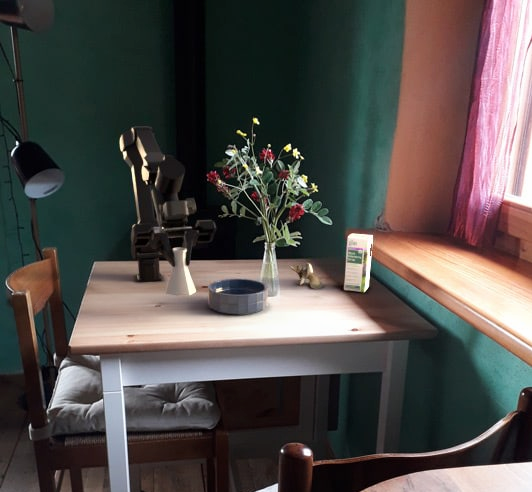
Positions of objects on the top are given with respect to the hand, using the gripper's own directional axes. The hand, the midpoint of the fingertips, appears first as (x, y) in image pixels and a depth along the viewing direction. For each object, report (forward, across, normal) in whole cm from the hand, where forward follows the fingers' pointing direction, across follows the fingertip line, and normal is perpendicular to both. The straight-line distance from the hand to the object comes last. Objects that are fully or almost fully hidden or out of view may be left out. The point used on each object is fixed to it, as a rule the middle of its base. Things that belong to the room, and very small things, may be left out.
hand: (181, 265), depth 137 cm
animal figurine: (-2, +39, +20) cm, 44 cm away
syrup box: (+4, +50, +14) cm, 52 cm away
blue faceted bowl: (+6, +15, +11) cm, 19 cm away
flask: (+4, 0, +6) cm, 7 cm away
